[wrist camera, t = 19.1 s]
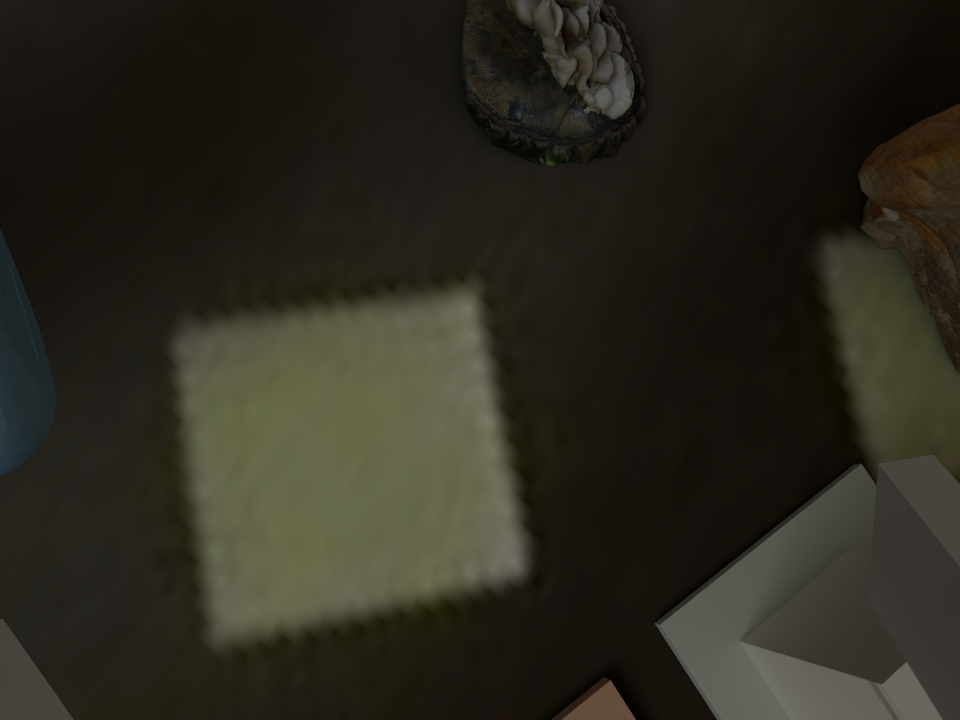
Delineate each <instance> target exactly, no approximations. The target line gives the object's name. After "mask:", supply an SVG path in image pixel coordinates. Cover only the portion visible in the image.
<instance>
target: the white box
mask: <svg viewBox="0 0 960 720" xmlns="http://www.w3.org/2000/svg"><path fill="white" fill-rule="evenodd" d="M871 556H872V547H867V546H852V547H851V548H850V549H849V550H847V551H846V552H845V553H844V554H843V555H841V556H840V557H839V558H838V559H837V560H835V561H834V562H833V563H832V564H831V565H830V566H828V567H827V568H826V569H825V570H824V571H822V572H821V573H820V574H819V575H818V576H817V577H815V578H814V579H813V580H812V581H811V582H809V583H808V584H807V585H806V586H805V587H804V588H802V589H801V590H800V591H799V592H798V593H796V594H795V595H794V596H793V597H792V598H791V599H789V600H788V601H787V602H786V603H785V604H783V605H782V606H781V607H780V608H779V609H778V610H776V611H775V612H774V613H773V614H772V615H770V616H769V617H768V618H767V619H766V620H765V621H763V622H762V623H761V624H760V625H759V626H757V627H756V628H755V629H754V630H753V631H752V632H750V633H749V634H748V635H747V636H746V637H744V638H743V639H742V640H741V641H740V643H741V644H742V646H743V647H744V649H745V650H746V652H747V653H748V655H749V656H750V658H751V659H752V661H753V662H754V664H755V665H756V667H757V668H758V670H759V671H760V673H761V674H762V676H763V677H764V679H765V680H766V682H767V684H768V685H769V687H770V688H771V690H772V691H773V693H774V694H775V696H776V697H777V699H778V700H779V702H780V703H781V705H782V706H783V708H784V709H785V711H786V712H787V714H788V715H789V717H790V718H791V720H942V718H941V716H940V715H939V713H938V712H937V710H936V708H935V707H934V705H933V703H932V702H931V700H930V699H929V697H928V695H927V694H926V692H925V691H924V689H923V687H922V686H921V684H920V683H919V681H918V679H917V678H916V676H915V674H914V673H913V671H912V670H911V668H910V666H909V665H908V663H907V662H906V660H905V658H904V657H903V655H902V654H901V652H900V650H899V649H898V647H897V645H896V644H895V642H894V641H893V639H892V637H891V636H890V634H889V633H888V631H887V629H886V628H885V626H884V625H883V623H882V621H881V620H880V618H879V616H878V615H877V613H876V612H875V610H874V608H873V607H872V605H871V604H870V602H869V600H868V597H869V583H870V570H871Z"/></svg>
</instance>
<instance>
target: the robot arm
mask: <svg viewBox="0 0 960 720" xmlns="http://www.w3.org/2000/svg"><path fill="white" fill-rule="evenodd" d="M55 404H56V396H55V388H54V382H53V377H52V372H51V368H50V364H49V361H48V357H47V353H46V350H45V346H44V343H43V340H42V337H41V334H40V331H39V327H38V324H37V322H36V319H35V316H34V313H33V310H32V307H31V305H30V302H29V299H28V297H27V294H26V292H25V289H24V286H23V284H22V281H21V279H20V276H19V274H18V271H17V268H16V266H15V263H14V261H13V258H12V255H11V253H10V251H9V248H8V246H7V243H6V241H5V238H4V236H3V234H2V231H1V229H0V476H2V475H4V474H6V473H8V472H10V471H12V470H14V469H16V468H17V467H19V466H21V465H22V464H24V463H25V462H26V461H27V460H28V459H30V458H31V457H32V456H33V455H34V453H35V452H36V451H37V450H38V448H39V447H40V446H41V445H42V443H43V442H44V441H45V439H46V437H47V435H48V433H49V427H50V425H51V423H52V421H53V418H54V413H55ZM868 600H869V602H870V604H871V605H872V607H873V608H874V610H875V612H876V613H877V615H878V616H879V618H880V620H881V621H882V623H883V625H884V626H885V628H886V629H887V631H888V633H889V634H890V636H891V637H892V639H893V641H894V642H895V644H896V645H897V647H898V649H899V650H900V652H901V654H902V655H903V657H904V658H905V660H906V662H907V663H908V665H909V666H910V668H911V670H912V671H913V673H914V674H915V676H916V678H917V679H918V681H919V683H920V684H921V686H922V687H923V689H924V691H925V692H926V694H927V695H928V697H929V699H930V700H931V702H932V703H933V705H934V707H935V708H936V710H937V712H938V713H939V715H940V716H941V718H942V720H960V484H959V482H958V481H957V480H956V479H955V478H954V477H953V476H952V475H951V474H950V473H949V471H948V470H947V469H946V468H945V467H944V466H943V465H942V464H941V463H940V461H939V460H938V459H937V458H936V457H935V456H934V455H933V454H931V455H925V456H920V457H914V458H908V459H903V460H897V461H891V462H886V463H880V464H878V474H877V488H876V501H875V515H874V529H873V542H872V556H871V570H870V583H869V597H868ZM0 720H73V718H72V717H71V715H70V714H69V713H68V711H67V710H66V708H65V707H64V705H63V704H62V703H61V701H60V700H59V698H58V697H57V695H56V694H55V693H54V691H53V690H52V688H51V687H50V686H49V684H48V683H47V681H46V680H45V678H44V677H43V676H42V674H41V673H40V671H39V670H38V668H37V667H36V666H35V664H34V663H33V661H32V660H31V658H30V657H29V656H28V654H27V653H26V651H25V650H24V649H23V647H22V646H21V644H20V643H19V641H18V640H17V639H16V637H15V636H14V634H13V633H12V631H11V630H10V629H9V627H8V626H7V624H6V623H5V621H4V620H3V619H0Z"/></svg>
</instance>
